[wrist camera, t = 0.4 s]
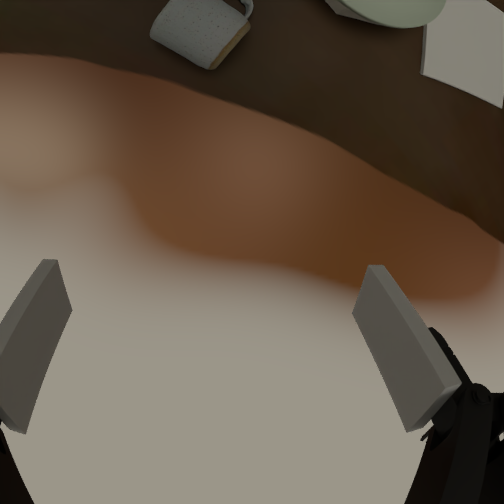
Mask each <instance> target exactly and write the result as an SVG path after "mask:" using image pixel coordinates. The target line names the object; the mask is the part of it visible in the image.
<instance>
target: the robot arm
mask: <svg viewBox="0 0 504 504" xmlns="http://www.w3.org/2000/svg"><path fill="white" fill-rule="evenodd" d="M71 312H72V308H71V304H70V301H69V298H68V295H67V292H66V289H65V285H64V282H63V278H62V275H61V271H60V268H59V264H58V260H48V259H43V260H42V261H41V263H40V264H39V266H38V267H37V268H36V270H35V271H34V272H33V274H32V275H31V277H30V278H29V280H28V281H27V283H26V284H25V286H24V287H23V289H22V290H21V291H20V293H19V295H18V296H17V298H16V299H15V301H14V302H13V304H12V306H11V307H10V309H9V310H8V312H7V313H6V315H5V317H4V318H3V320H2V322H1V324H0V425H1V422H3V423H4V424H5V425H6V426H7V427H8V428H9V429H10V430H13V431H17V432H19V433H22V434H26V432H27V428H28V425H29V421H30V418H31V415H32V412H33V409H34V406H35V403H36V400H37V397H38V394H39V391H40V388H41V385H42V382H43V380H44V377H45V374H46V372H47V369H48V366H49V364H50V361H51V359H52V356H53V354H54V351H55V349H56V346H57V344H58V342H59V339H60V337H61V335H62V332H63V330H64V328H65V325H66V323H67V321H68V319H69V317H70V314H71ZM352 314H353V316H354V318H355V320H356V322H357V324H358V326H359V328H360V330H361V332H362V335H363V337H364V339H365V341H366V343H367V345H368V347H369V349H370V351H371V353H372V355H373V358H374V360H375V362H376V364H377V366H378V368H379V371H380V373H381V375H382V377H383V379H384V381H385V384H386V386H387V388H388V390H389V393H390V395H391V397H392V399H393V402H394V404H395V406H396V409H397V411H398V413H399V415H400V418H401V420H402V423H403V425H404V427H405V430H406V432H410V431H414V430H417V429H420V428H423V427H424V426H425V425H426V424H427V423H428V422H429V421H430V420H432V422H433V424H434V425H433V426H432V427H431V428H430V429H429V430H428V431H427V432H426V433H425V434H424V435H423V436H422V438H421V441H423V440H424V439H425V438H426V437H427V436H428V439H427V441H426V445H425V449H424V452H423V455H422V458H421V461H420V464H419V467H418V470H417V473H416V475H415V478H414V481H413V483H412V486H411V488H410V491H409V493H408V496H407V498H406V501H405V503H404V504H504V439H503V440H502V441H500V440H499V435H500V434H501V433H503V432H504V392H503V393H491V392H490V391H489V390H488V389H487V388H486V387H485V386H483V385H481V384H477V383H474V384H473V383H472V382H471V381H470V379H469V377H468V375H467V374H466V372H465V371H464V369H463V367H462V366H461V364H460V362H459V361H458V359H457V358H456V356H455V355H453V351H452V350H451V348H450V347H448V344H447V342H446V341H445V339H444V338H443V336H442V335H441V334H440V333H439V332H437V331H436V330H435V329H434V328H433V327H430V328H427V326H426V325H425V323H424V322H423V320H422V319H421V317H420V316H419V314H418V313H417V311H416V310H415V308H414V307H413V306H412V304H411V303H410V301H409V300H408V299H407V297H406V296H405V294H404V293H403V291H402V290H401V289H400V287H399V286H398V284H397V283H396V282H395V280H394V279H393V278H392V276H391V275H390V273H389V272H388V271H387V270H386V268H385V267H384V265H368V268H367V271H366V274H365V277H364V281H363V283H362V286H361V289H360V292H359V295H358V298H357V301H356V304H355V307H354V309H353V312H352ZM0 504H34V502H33V500H32V498H31V496H30V494H29V492H28V490H27V488H26V486H25V484H24V482H23V480H22V478H21V476H20V473H19V471H18V469H17V466H16V464H15V462H14V459H13V457H12V454H11V452H10V449H9V447H8V444H7V441H6V439H5V436H4V433H3V431H2V430H1V428H0Z"/></svg>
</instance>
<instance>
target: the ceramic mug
mask: <svg viewBox="0 0 504 504" xmlns="http://www.w3.org/2000/svg"><path fill="white" fill-rule="evenodd" d="M240 1H241V3H243V4H244V5H245V7H246V14H245V16H243V15H242V14H241V13H240V12H238V11H237V10H236V9H234V8H233V7H231V6H229V5H228V4H226V3H225V2H224V1H222V0H170V1H169V2H168V4H167V5H166V6H165V7H164V9H163V10H162V11H161V12H160V14H159V15H158V17H157V18H156V20H155V21H154V23H153V26H152V28H151V30H150V37H151V38H152V39H153V40H155V41H157V42H159V43H161V44H162V45H164V46H166V47H168V48H169V49H171V50H173V51H174V52H176V53H178V54H180V55H182V56H183V57H185V58H187V59H188V60H190V61H191V62H193V63H195V64H196V65H198V66H200V67H203V68H205V69H208V70H213V69H216V68H217V67H218V65H219V64H220V63H221V62H222V61H223V59H224V58H225V57H226V56H227V55H228V53H229V52H230V51H231V50H232V49H233V48H234V47H235V46H236V44H237V43H238V42H239V41H240V40H241V39H242V37H243V36H244V35H245V34H246V33H247V32H248V31H249V30H250V28H251V27H250V22H249V21H248V20H247V19H248V17H249V16H250V14H251V13H252V10H253V2H252V0H240Z"/></svg>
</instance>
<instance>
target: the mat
mask: <svg viewBox="0 0 504 504" xmlns="http://www.w3.org/2000/svg"><path fill="white" fill-rule="evenodd" d="M420 74H421V75H424V76H426V77H429V78H432V79H435V80H437V81H440V82H443V83H445V84H448V85H450V86H453V87H455V88H457V89H460V90H462V91H465V92H467V93H469V94H471V95H474V96H476V97H478V98H480V99H482V100H484V101H486V102H488V103H490V104H493V105H495V106H496V107H498V108H502V104H503V96H504V13H503V12H502V11H500V10H499V9H498V8H496V7H495V6H493V5H492V4H491V3H489V2H488V1H486V0H446V3H445V6H444V8H443V10H442V11H441V13H440V14H439V15H438V16H437V18H435V19H434V20H433V21H431V22H430V23H428V24H425V25H424V31H423V47H422V60H421V70H420Z"/></svg>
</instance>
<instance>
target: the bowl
mask: <svg viewBox="0 0 504 504" xmlns="http://www.w3.org/2000/svg"><path fill="white" fill-rule="evenodd" d="M325 1H326V2H327V3H328V5H329V6H330V7H331V8H332V9H333V10H334V12H335V13H336V14H339V15H343V16H347V17H351V18H355V19H359V20H362V21H366V22H369V23H373V22H371V21H368V20H366V19H364V18H362V17H360V16H359V15H357V14H355V13H354V12H352V11H351V10H349V9H348V8H346V7H345V6H344V5H342V4H341V3H340V2H339V1H338V0H325ZM373 24H376V23H373ZM376 25H379V24H376Z"/></svg>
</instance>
